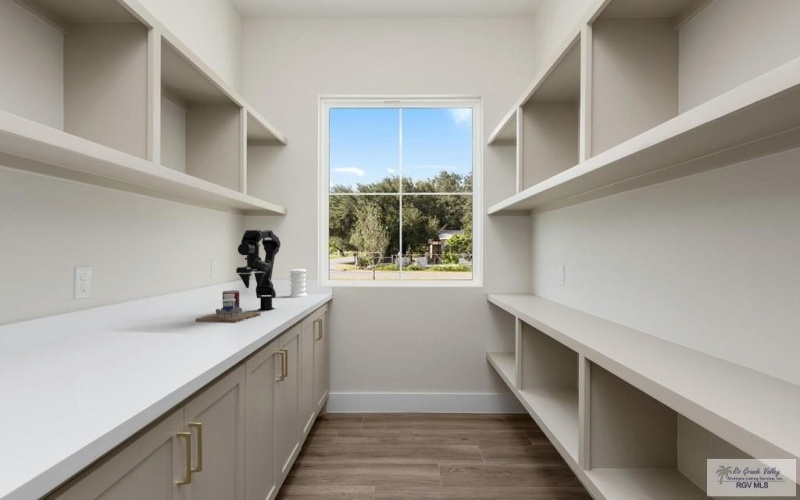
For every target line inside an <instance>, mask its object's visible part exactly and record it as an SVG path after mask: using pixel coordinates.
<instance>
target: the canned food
mask: <svg viewBox="0 0 800 500" xmlns="http://www.w3.org/2000/svg"><path fill="white" fill-rule="evenodd" d="M224 294H235V296H234V298H235V299H236V307H239V308H240V290H237V289H236V290H233V289H232V290H231V289H230V290H223V291H222V300H223V299H224Z"/></svg>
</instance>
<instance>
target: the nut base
mask: <svg viewBox="0 0 800 500" xmlns="http://www.w3.org/2000/svg"><path fill="white" fill-rule="evenodd" d="M256 316H257V317H260V316H261V312H243V308H242V307H240V306H239V307H236V309H233V310H230V312H226V310H223V307H221V308H215V314H210V315H205V316H202V317H201V316H200V317H196V318H194V320H195V321H194V322H199V323H200V322H207V323H238V322H237V321H239V322H241V320H242V321H245V320H244V319H246V320H249V319H253V318H255V317H256ZM252 317H253V318H252ZM248 318H249V319H248Z"/></svg>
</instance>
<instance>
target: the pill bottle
mask: <svg viewBox="0 0 800 500" xmlns="http://www.w3.org/2000/svg"><path fill="white" fill-rule="evenodd" d="M234 296H235V294H224V299H223V298H222V308H223V310H226V312H230V310H233V309H236V299H235V298H234Z"/></svg>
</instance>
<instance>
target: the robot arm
mask: <svg viewBox="0 0 800 500" xmlns="http://www.w3.org/2000/svg"><path fill="white" fill-rule="evenodd" d="M241 238H242V239H241V241H240V244H238V246H237V252H238V254H239V255H241V256H246V257H244V260H245V261H246V265H245V266H240V267H239V266H238V267H236V269H235V272H236V273H235V274H237V275H238V276H239V278H240V279H241V280H242V282H243V284H244V286H245V288H246V289H249V288H250V277H251V276H252V274H254V277H255V282H256V287H255V293H256V299H260V300H259V301H260V302H259V303H260V304H259V305H260V308H258V309H257V310H258V311H271V310H274V309H275V310H276V308H275V307H273V299H275V298H276V297H277V293H276V291H275V288H274V284H273V281H272V276H273V269H274V263H275V258H276V255H277V254H278V253H279V251H280V247H281V241H280V238H279V237H278V236H277V235H276V234H274V231H273V230H270V229H268V230H267V229H265V230H261V229H260V230H259V229H246V230H245V231H244V233H243V235H242V237H241ZM260 241H261V244H262V246H263V250H264V251H265V255H264V256H265V257H264V260H262V257H260V247H261V245H260ZM252 272H253V273H252Z"/></svg>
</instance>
